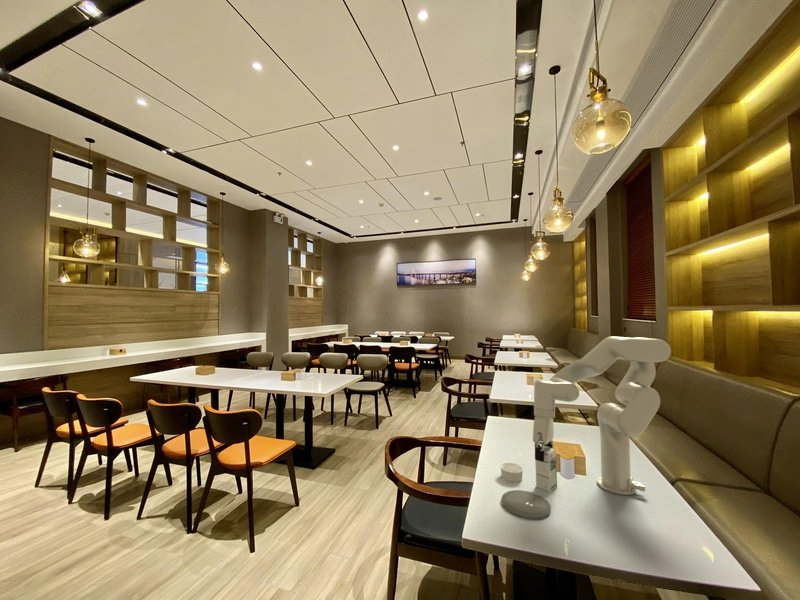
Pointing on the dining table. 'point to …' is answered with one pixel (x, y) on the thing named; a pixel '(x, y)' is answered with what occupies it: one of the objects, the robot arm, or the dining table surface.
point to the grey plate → (526, 504)
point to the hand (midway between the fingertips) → (543, 456)
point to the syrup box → (547, 470)
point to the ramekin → (511, 472)
